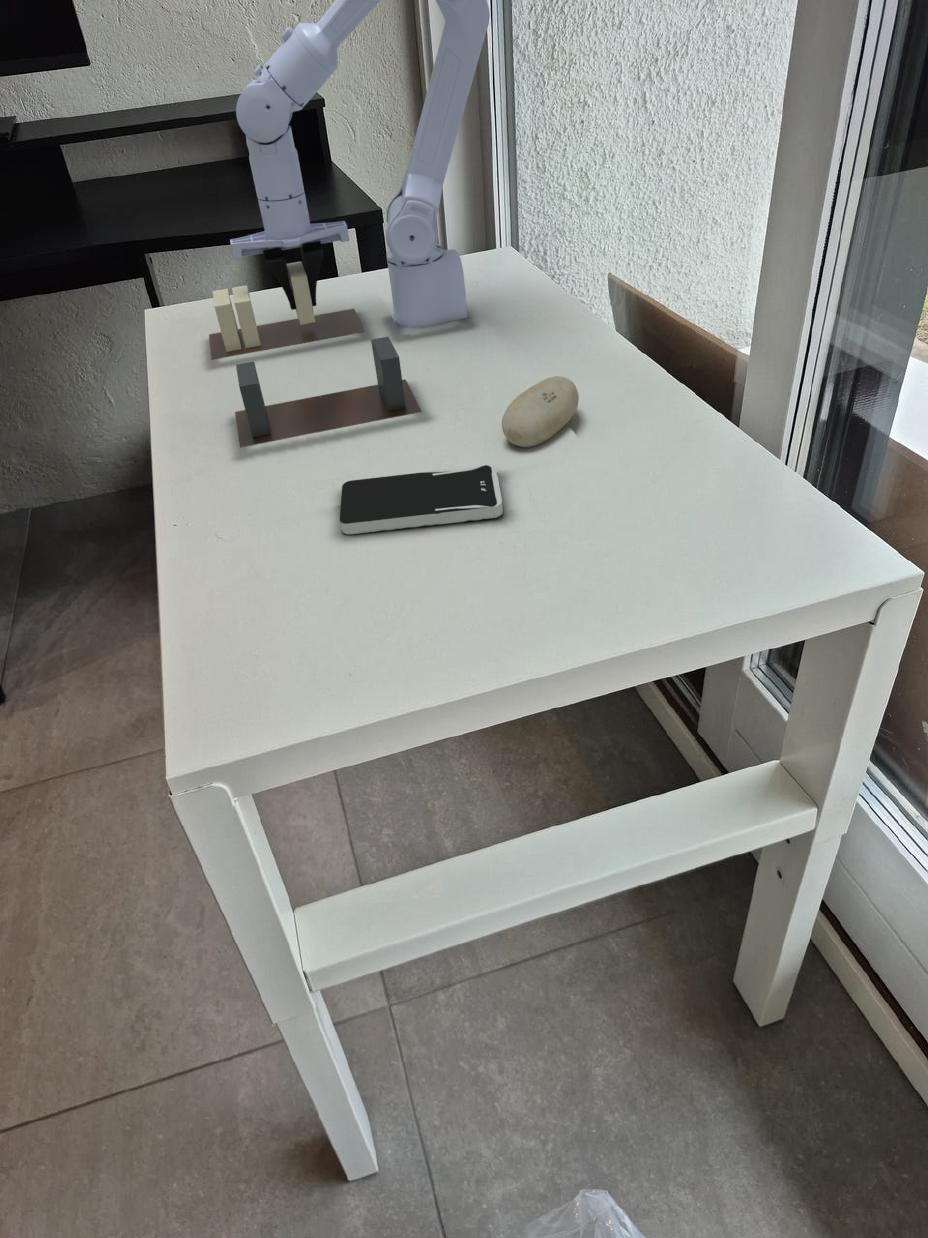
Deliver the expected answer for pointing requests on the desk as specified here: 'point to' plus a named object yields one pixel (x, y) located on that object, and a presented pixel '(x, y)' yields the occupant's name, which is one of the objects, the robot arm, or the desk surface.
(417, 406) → the shelf
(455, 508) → the smartphone
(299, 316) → the cream book
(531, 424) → the stone
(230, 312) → the cream books
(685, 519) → the desk surface
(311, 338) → the shelf
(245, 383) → the grey books
